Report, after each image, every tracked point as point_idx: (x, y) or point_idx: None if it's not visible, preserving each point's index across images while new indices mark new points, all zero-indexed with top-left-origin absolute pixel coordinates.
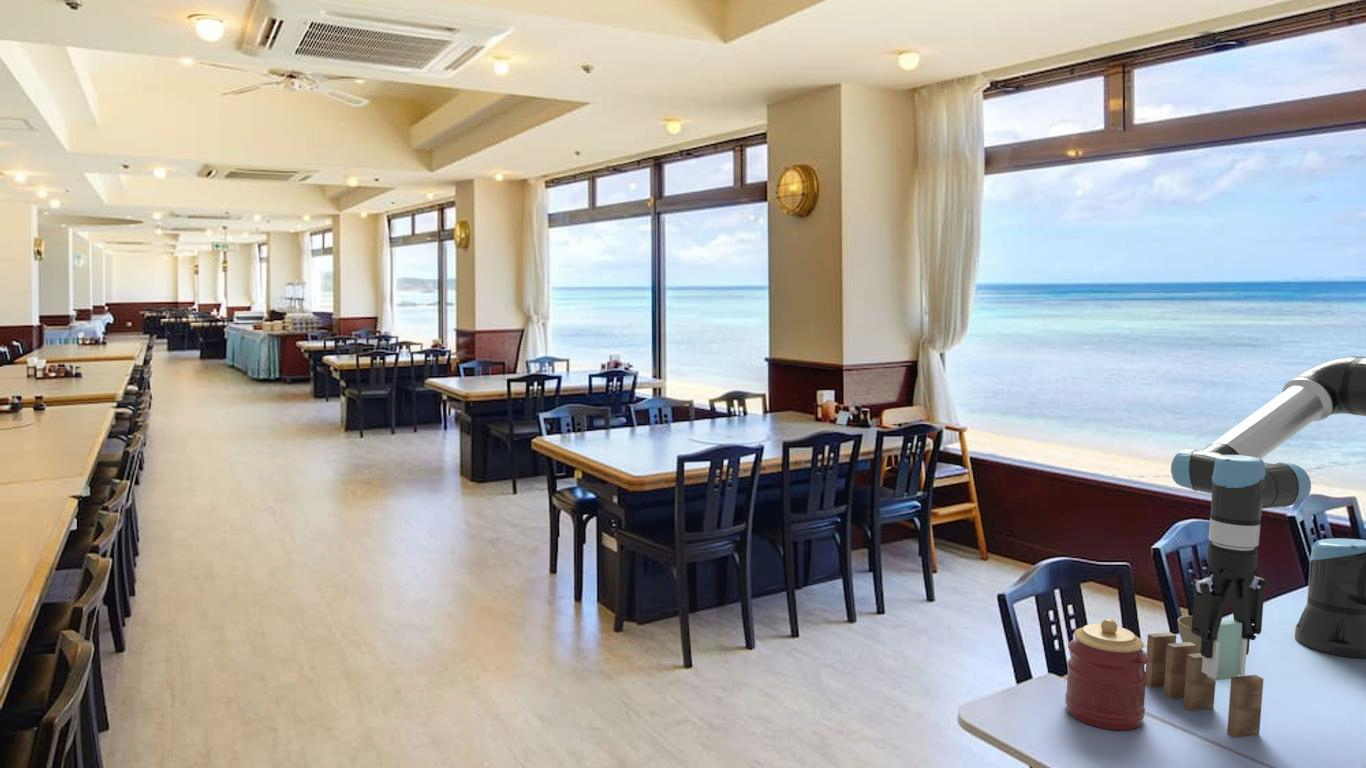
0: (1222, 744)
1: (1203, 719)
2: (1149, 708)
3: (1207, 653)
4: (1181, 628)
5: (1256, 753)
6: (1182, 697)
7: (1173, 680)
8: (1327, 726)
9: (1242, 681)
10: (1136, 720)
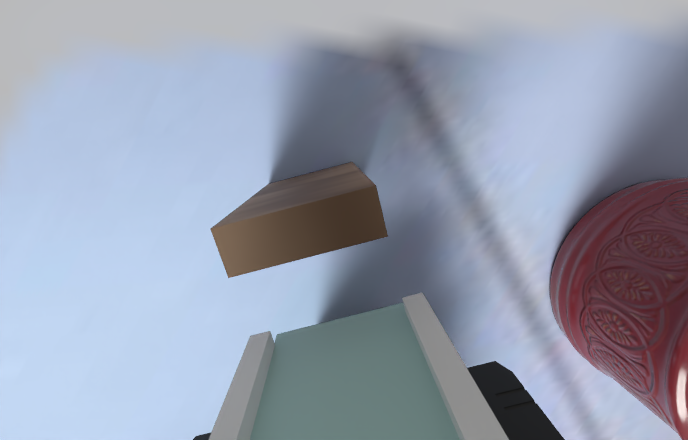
0: (413, 114)
1: (380, 266)
2: (493, 318)
3: (514, 384)
4: None
5: (342, 61)
6: None
7: None
8: (33, 249)
9: (351, 189)
10: (636, 193)
